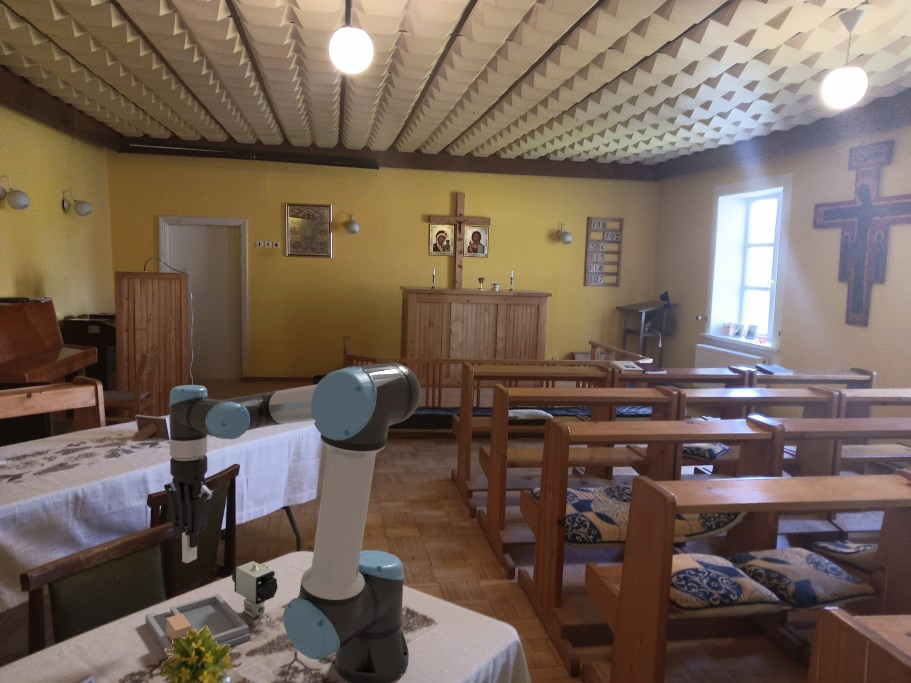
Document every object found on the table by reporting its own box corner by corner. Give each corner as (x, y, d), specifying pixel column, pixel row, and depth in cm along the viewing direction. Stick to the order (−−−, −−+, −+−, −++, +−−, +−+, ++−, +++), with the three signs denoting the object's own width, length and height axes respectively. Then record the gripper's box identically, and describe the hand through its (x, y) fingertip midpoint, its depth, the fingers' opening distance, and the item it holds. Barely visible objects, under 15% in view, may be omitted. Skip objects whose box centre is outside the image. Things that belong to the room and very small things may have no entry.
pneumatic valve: (260, 626, 142) (261, 575, 141) (230, 608, 149) (231, 560, 148) (280, 616, 147) (281, 567, 146) (250, 599, 154) (251, 552, 153)
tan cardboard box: (191, 645, 132) (191, 625, 131) (175, 651, 130) (175, 630, 129) (182, 633, 136) (182, 613, 136) (166, 638, 134) (166, 618, 134)
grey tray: (250, 639, 137) (250, 624, 137) (173, 666, 126) (173, 649, 126) (216, 602, 152) (216, 587, 152) (145, 623, 141) (145, 608, 141)
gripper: (224, 456, 138) (224, 559, 140) (181, 448, 143) (182, 548, 145) (197, 464, 131) (198, 573, 133) (153, 455, 136) (154, 560, 138)
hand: (189, 560), depth 139 cm, fingers closed
